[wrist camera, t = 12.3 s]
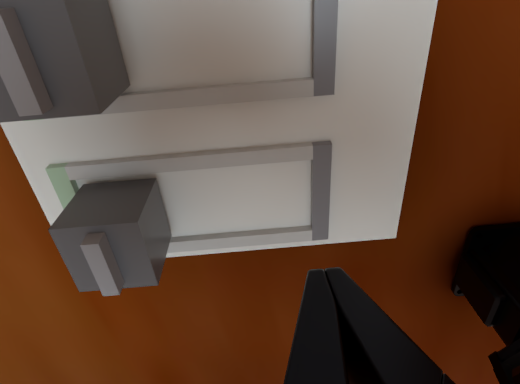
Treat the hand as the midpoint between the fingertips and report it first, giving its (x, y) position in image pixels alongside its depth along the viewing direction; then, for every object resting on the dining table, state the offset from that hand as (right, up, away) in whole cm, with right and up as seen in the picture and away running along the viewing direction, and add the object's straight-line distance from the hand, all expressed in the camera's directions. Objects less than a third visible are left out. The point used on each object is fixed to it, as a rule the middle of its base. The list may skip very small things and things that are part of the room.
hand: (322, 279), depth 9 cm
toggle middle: (-10, +9, +6) cm, 14 cm away
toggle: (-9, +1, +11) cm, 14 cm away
